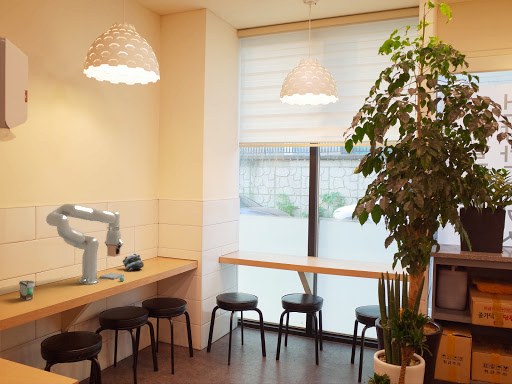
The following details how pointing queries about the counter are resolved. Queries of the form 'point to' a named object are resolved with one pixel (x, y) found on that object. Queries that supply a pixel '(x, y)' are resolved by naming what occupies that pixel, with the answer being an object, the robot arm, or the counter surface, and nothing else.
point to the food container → (26, 290)
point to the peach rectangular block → (112, 250)
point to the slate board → (112, 276)
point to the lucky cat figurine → (133, 262)
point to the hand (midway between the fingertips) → (113, 253)
